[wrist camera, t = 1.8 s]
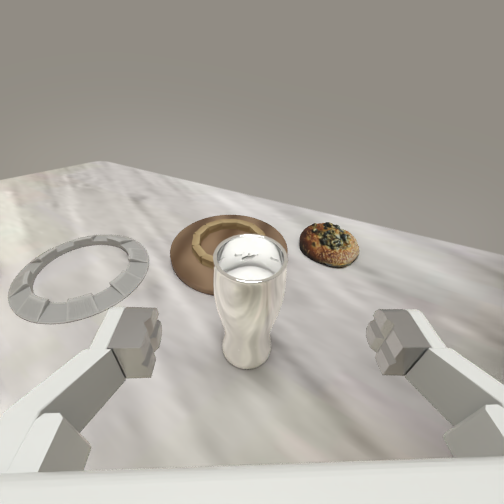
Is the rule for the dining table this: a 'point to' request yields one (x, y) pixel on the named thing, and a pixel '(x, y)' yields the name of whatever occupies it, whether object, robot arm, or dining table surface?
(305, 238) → the bread roll
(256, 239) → the beer glass
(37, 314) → the ring
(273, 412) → the dining table surface
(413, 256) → the dining table surface
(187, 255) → the round tray
